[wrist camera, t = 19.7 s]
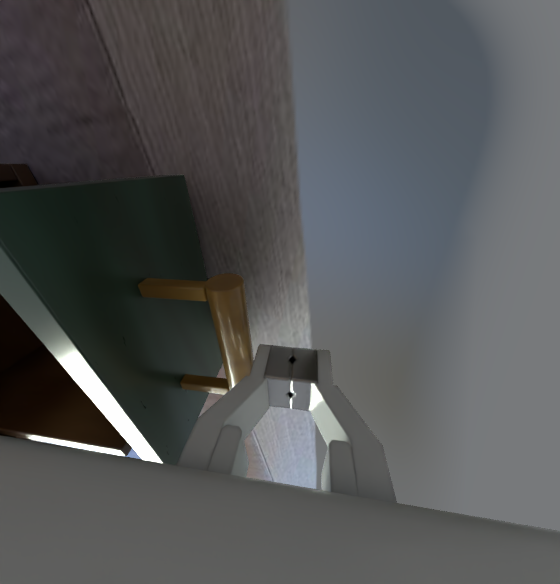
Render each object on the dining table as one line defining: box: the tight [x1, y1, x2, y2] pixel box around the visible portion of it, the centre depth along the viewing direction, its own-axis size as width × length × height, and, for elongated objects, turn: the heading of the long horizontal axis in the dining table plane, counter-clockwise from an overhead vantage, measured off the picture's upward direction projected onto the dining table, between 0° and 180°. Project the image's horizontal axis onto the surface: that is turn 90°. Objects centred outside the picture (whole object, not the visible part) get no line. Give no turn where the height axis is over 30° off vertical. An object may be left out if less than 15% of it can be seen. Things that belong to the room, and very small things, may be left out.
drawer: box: [0, 175, 254, 465], centre depth 11 cm, size 20×13×8 cm
